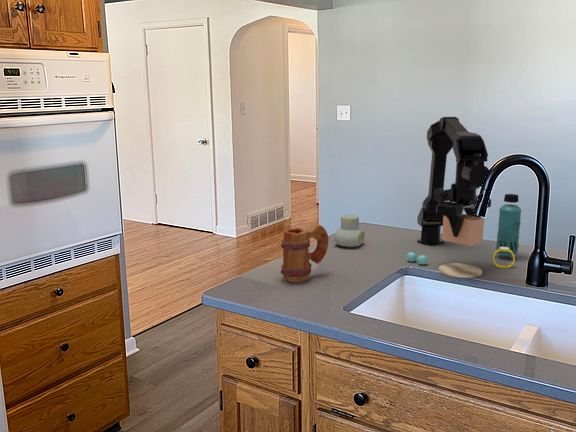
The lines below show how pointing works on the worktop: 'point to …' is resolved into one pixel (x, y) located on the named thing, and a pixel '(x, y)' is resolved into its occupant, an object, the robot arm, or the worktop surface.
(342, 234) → the air freshener
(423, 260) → the marble
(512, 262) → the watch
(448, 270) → the coaster
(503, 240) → the beverage bottle
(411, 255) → the marble
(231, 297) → the worktop surface
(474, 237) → the salmon pink block
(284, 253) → the mug
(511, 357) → the worktop surface
